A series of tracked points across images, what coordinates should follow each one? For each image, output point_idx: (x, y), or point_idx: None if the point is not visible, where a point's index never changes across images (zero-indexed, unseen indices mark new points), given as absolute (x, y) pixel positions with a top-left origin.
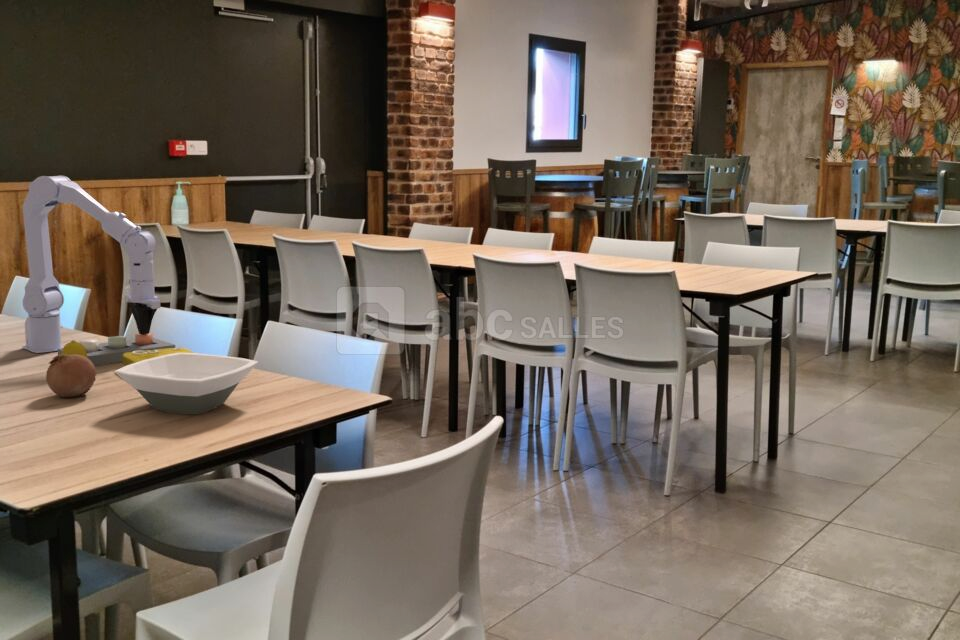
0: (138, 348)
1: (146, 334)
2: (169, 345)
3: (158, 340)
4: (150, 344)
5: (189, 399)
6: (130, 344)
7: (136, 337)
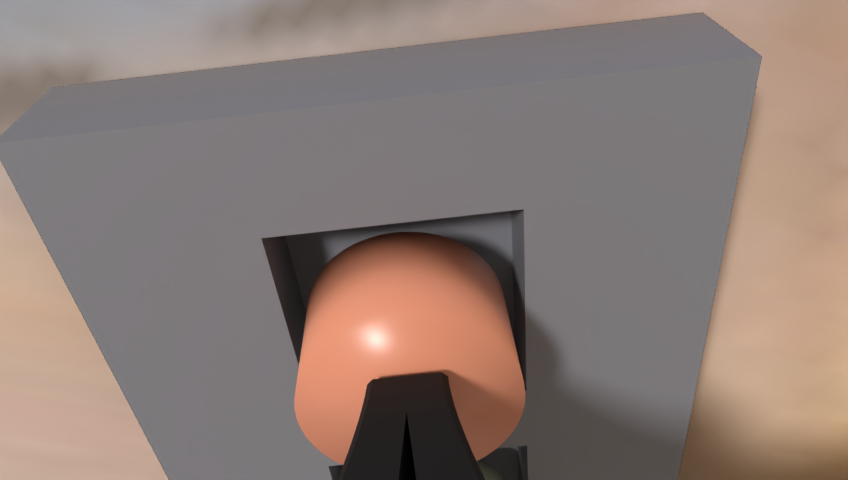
0: (638, 422)
1: None
2: (740, 139)
3: (303, 137)
4: (497, 285)
5: None
6: None
7: None
